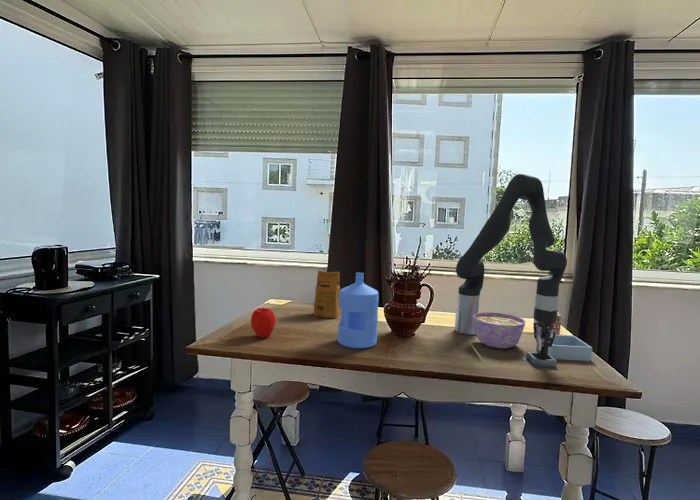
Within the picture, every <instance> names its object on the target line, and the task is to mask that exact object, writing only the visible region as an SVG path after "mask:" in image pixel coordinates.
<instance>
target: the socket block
mask: <svg viewBox="0 0 700 500" xmlns="http://www.w3.org/2000/svg"><path fill="white" fill-rule="evenodd" d="M536 355H537V352H535V351H533V352H532V351H527V352H526V357H525V356H524V357H523V356H522V357H521V358H522V359H523V360H524V362H526V363H527V365H528V366H529V367H530V368H531V369H532V368H533V369H534V368H535V369H548V370H549V369H550V370H562V369H561V367H560V366H558V365H557V363H558V359H554V358H553V357H552V356H551V355H550V354H549V353H548V356H547V358H548V359H536V358H535V356H536Z"/></svg>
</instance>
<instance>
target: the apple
mask: <svg viewBox="0 0 700 500" xmlns="http://www.w3.org/2000/svg"><path fill="white" fill-rule="evenodd" d="M250 325H251V329H252V330H253V332H254V333H255V334H256V335H257V337H258V338H261V339H267V338H269V337H270V336H271V334H272V333H273V331H274V330H275V329H274V328H275V326H276V315H275V313H274V311H273V310H272V309H271V308H266V307H258V308H257V309H255V310H254V311H253V312H252V314H251V318H250Z"/></svg>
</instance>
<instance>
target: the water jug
mask: <svg viewBox="0 0 700 500" xmlns="http://www.w3.org/2000/svg"><path fill="white" fill-rule="evenodd" d="M364 274H365V273H364V272H358V271H357V272H355V282H354V283H352V284H350V285H348V286H345V287H343V288H340V293H339V302H338V304H339V310H341V311H340V312H341V313H340V322H339V323H338V325H337V342H338V344H340V345H341V346H343V347H345V348H349V349H360V350H361V349H368V348H372V347H374V346H376V344H377V342H378V341H377V340H378V336H377V334H378V323H379V317H378V311H379V291H378V290H377V289H375V288H373V287H371V286H369V285H367V284H366V283H365V282H364Z"/></svg>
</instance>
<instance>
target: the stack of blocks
mask: <svg viewBox="0 0 700 500" xmlns="http://www.w3.org/2000/svg"><path fill="white" fill-rule="evenodd" d="M562 317H563V316H562V315H561V313H560V312H557V321H556V322H554V323H552V332H555V335H561V334H560V333H561V325H562ZM534 322H537V320H535V319H534V318H533V323H534ZM533 329H534V325H533Z"/></svg>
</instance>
